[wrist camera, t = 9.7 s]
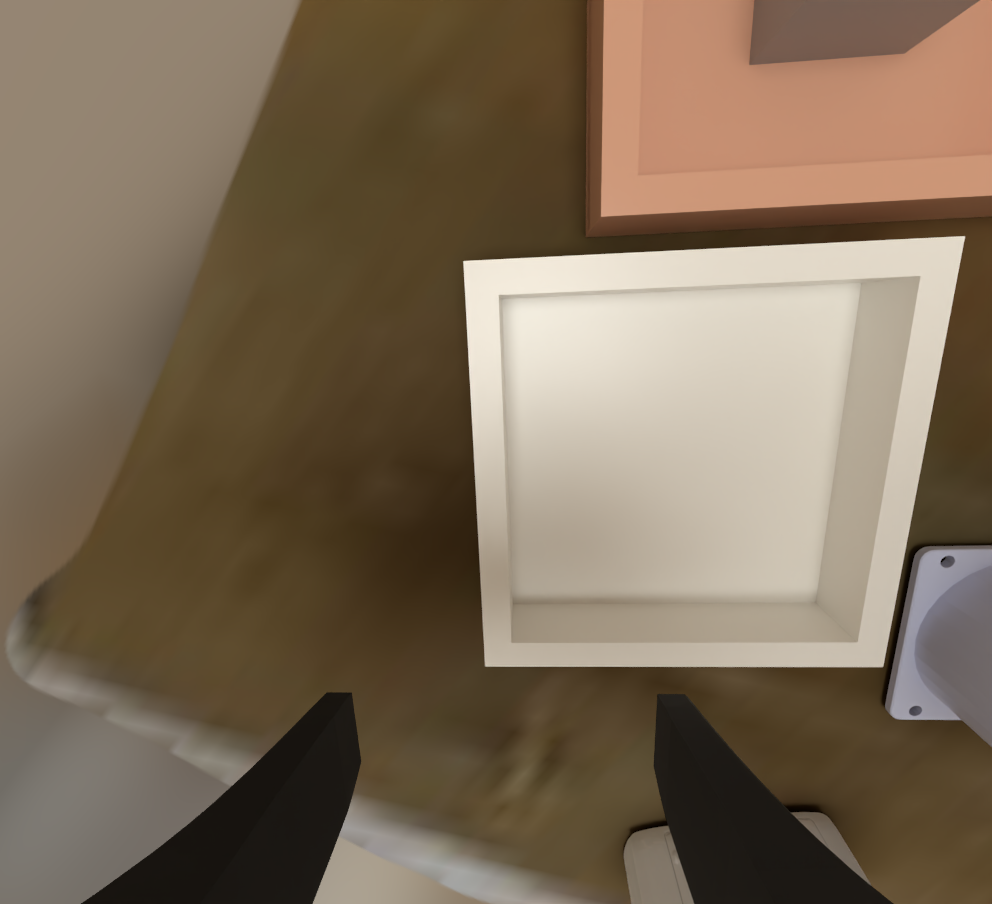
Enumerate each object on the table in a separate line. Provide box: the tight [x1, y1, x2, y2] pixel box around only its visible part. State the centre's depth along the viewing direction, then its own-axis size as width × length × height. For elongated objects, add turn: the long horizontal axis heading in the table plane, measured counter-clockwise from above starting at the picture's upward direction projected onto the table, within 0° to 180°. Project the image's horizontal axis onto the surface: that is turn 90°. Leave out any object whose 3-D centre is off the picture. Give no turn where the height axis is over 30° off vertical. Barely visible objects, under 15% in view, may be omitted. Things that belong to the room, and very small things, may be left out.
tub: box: [463, 236, 965, 667], centre depth 17 cm, size 14×14×4 cm
